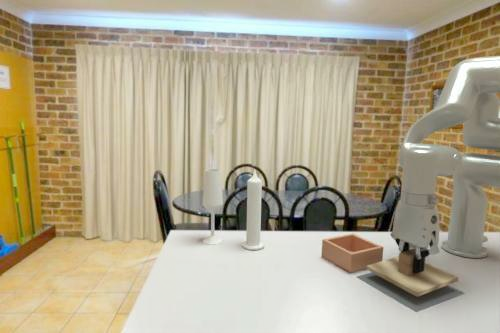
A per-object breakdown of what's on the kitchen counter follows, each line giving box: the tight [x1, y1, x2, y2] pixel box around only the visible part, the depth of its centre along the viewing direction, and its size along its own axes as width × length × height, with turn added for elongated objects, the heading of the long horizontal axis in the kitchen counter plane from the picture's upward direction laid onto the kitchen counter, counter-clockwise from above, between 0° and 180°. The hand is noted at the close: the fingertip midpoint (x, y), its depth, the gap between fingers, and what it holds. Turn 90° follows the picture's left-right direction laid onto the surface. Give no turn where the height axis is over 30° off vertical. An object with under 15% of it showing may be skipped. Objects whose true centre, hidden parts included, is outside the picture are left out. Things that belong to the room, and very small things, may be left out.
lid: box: [366, 248, 459, 297], centre depth 88 cm, size 15×15×6 cm
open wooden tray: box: [320, 233, 384, 274], centre depth 101 cm, size 12×12×6 cm
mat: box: [356, 271, 466, 313], centre depth 88 cm, size 18×18×1 cm
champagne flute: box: [202, 168, 224, 246], centre depth 114 cm, size 7×7×24 cm
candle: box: [241, 169, 265, 252], centre depth 110 cm, size 7×7×25 cm
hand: (411, 268), depth 88 cm, fingers closed on lid, 3 cm apart
